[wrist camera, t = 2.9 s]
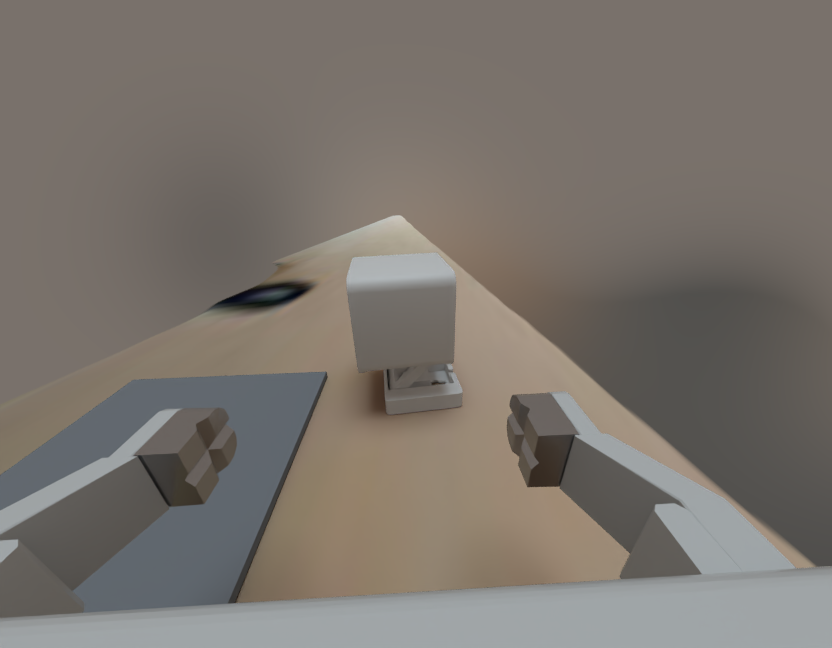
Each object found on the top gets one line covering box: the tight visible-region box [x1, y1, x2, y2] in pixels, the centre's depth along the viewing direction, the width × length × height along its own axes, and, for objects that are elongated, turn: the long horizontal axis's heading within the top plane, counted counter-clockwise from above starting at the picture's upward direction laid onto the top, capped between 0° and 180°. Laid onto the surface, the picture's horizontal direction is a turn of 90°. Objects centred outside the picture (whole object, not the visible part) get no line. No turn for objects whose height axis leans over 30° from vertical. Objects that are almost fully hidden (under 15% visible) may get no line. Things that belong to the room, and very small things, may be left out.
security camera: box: [346, 253, 462, 415], centre depth 21 cm, size 6×7×10 cm
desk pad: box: [0, 372, 327, 613], centre depth 17 cm, size 16×16×1 cm
